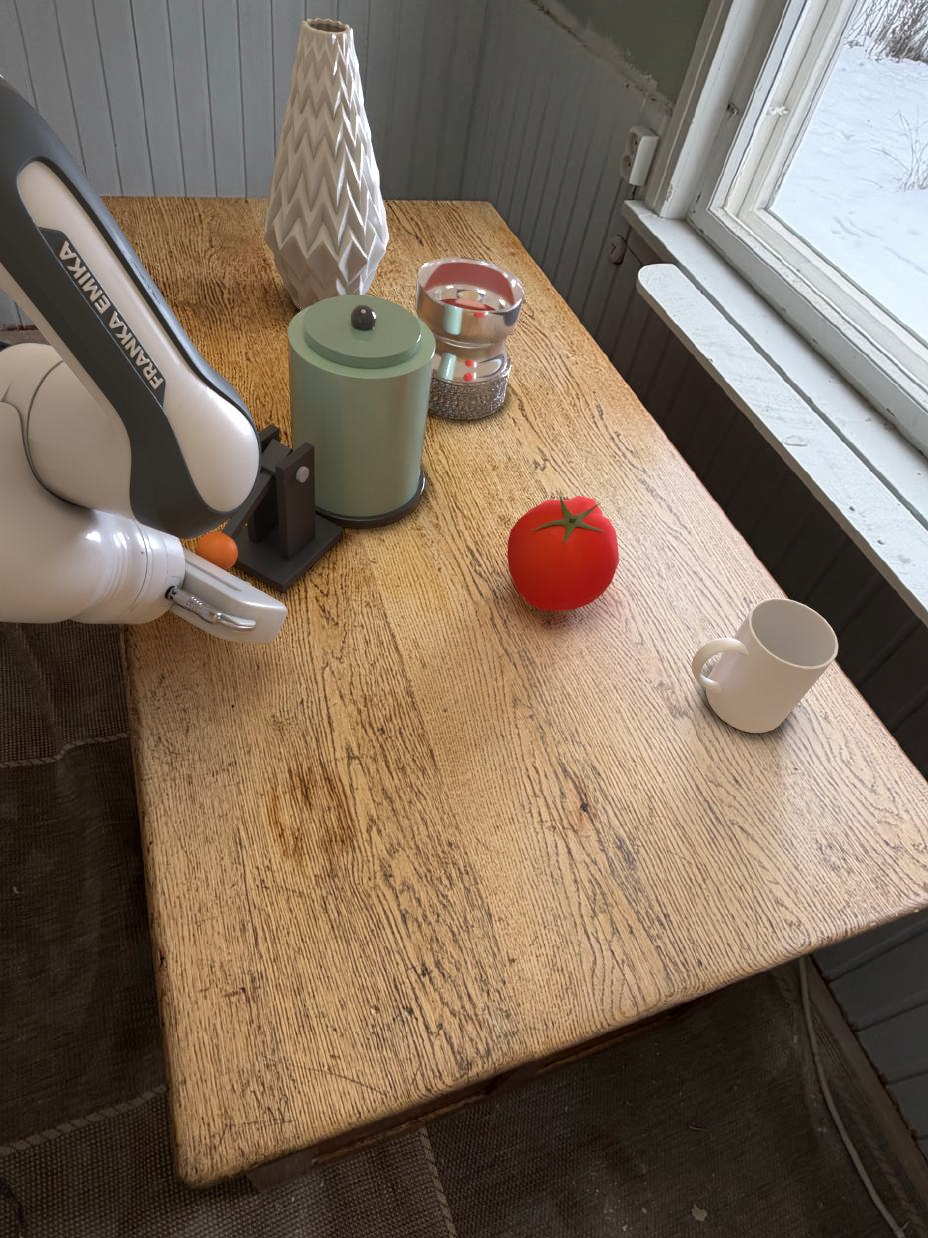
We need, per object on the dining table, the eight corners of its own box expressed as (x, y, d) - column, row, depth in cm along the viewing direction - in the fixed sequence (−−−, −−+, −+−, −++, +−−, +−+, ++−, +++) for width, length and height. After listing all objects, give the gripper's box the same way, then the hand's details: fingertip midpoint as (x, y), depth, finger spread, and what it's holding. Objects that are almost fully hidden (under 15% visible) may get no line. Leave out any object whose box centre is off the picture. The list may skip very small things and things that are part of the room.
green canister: (374, 549, 81) (386, 372, 65) (258, 488, 85) (243, 306, 69) (448, 475, 90) (474, 305, 75) (341, 423, 94) (344, 250, 78)
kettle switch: (229, 584, 70) (212, 570, 67) (198, 566, 71) (180, 552, 68) (308, 466, 73) (296, 448, 69) (277, 450, 74) (263, 431, 70)
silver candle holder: (416, 421, 96) (428, 311, 85) (391, 341, 107) (399, 234, 96) (515, 419, 100) (539, 312, 88) (481, 341, 110) (499, 238, 99)
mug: (761, 663, 78) (810, 594, 70) (798, 729, 74) (855, 664, 66) (651, 674, 76) (690, 604, 68) (683, 745, 71) (728, 678, 63)
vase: (358, 348, 105) (369, 61, 80) (245, 314, 107) (222, 22, 82) (402, 295, 116) (423, 27, 91) (299, 264, 117) (292, -7, 92)
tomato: (619, 571, 84) (650, 500, 76) (579, 650, 76) (608, 579, 69) (526, 530, 86) (546, 457, 79) (478, 602, 78) (495, 529, 71)
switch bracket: (283, 593, 76) (277, 493, 66) (218, 557, 78) (203, 454, 68) (343, 536, 82) (346, 437, 72) (282, 504, 84) (277, 403, 74)
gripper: (248, 590, 56) (328, 598, 70) (41, 473, 61) (154, 501, 74) (212, 667, 57) (298, 660, 70) (10, 545, 62) (127, 560, 75)
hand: (223, 577), depth 72 cm, fingers open, 3 cm apart
